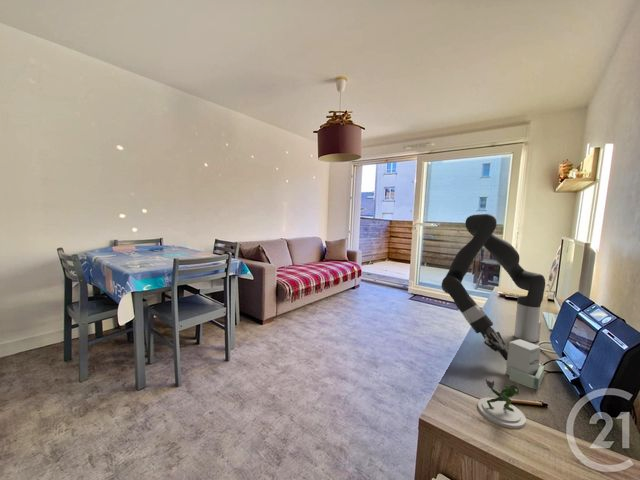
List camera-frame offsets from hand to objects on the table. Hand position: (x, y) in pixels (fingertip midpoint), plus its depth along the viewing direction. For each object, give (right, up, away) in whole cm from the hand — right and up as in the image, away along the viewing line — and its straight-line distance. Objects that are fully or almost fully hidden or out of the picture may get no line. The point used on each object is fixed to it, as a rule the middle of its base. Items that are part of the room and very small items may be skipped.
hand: (509, 359), depth 105 cm
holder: (+4, -5, -4) cm, 8 cm away
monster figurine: (-18, -6, -23) cm, 30 cm away
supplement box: (+2, -5, -3) cm, 7 cm away
